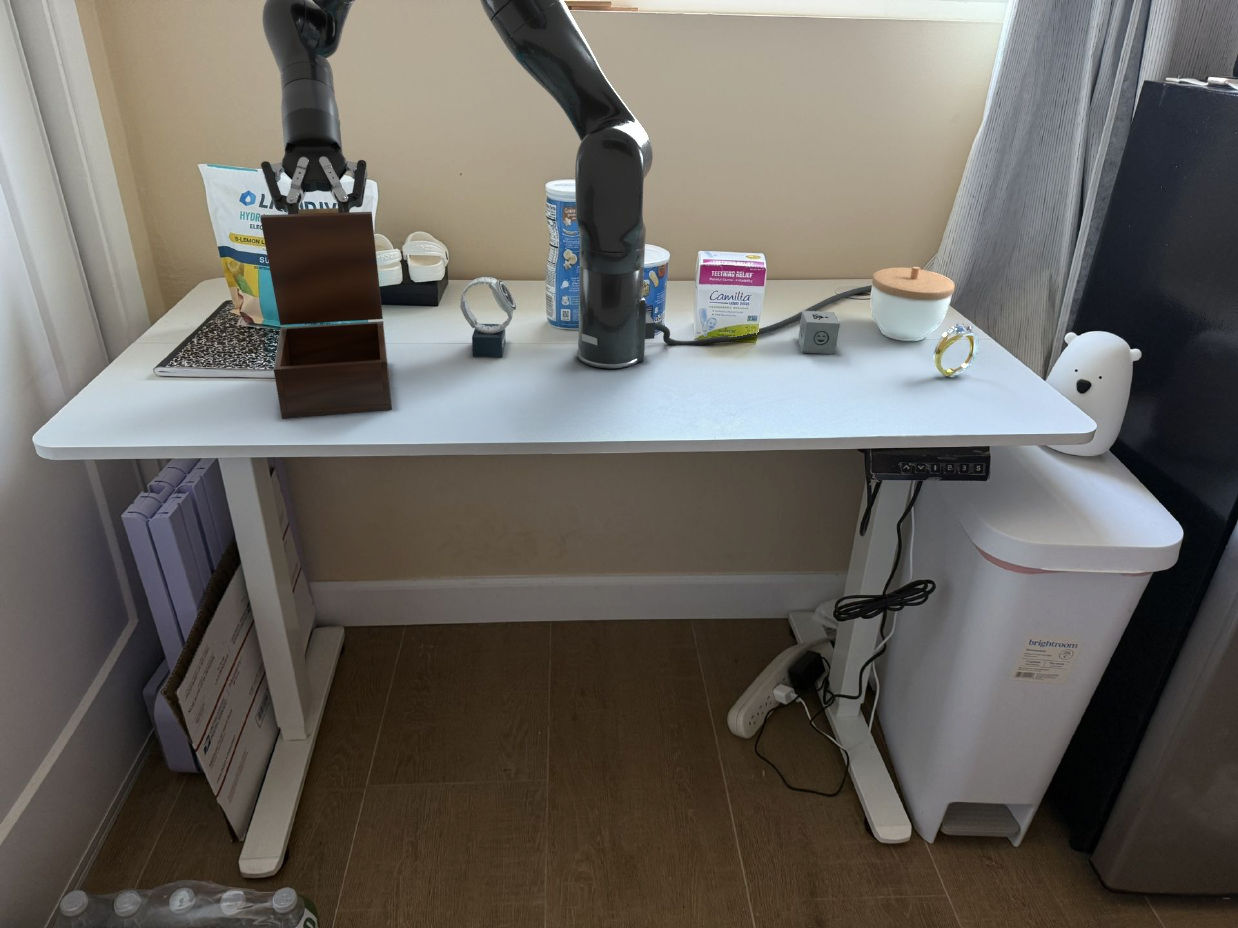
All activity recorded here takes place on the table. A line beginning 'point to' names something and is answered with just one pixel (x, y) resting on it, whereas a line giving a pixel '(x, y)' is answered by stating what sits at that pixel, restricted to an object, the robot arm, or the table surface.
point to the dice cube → (818, 332)
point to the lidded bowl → (909, 302)
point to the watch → (489, 336)
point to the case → (332, 369)
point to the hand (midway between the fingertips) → (321, 232)
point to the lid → (323, 266)
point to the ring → (943, 345)
